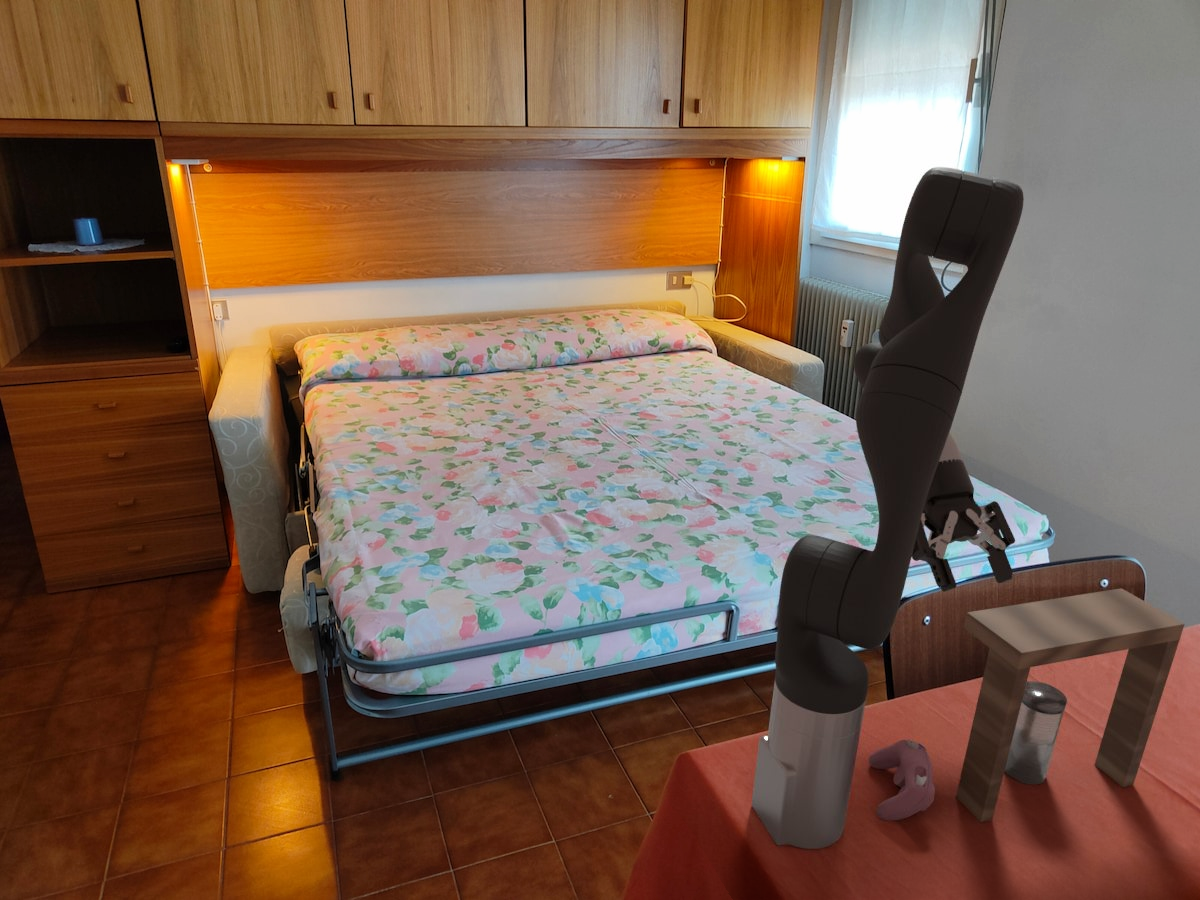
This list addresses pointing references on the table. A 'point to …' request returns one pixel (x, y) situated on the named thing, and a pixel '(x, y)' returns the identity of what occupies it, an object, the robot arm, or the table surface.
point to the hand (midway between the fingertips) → (978, 585)
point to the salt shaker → (1035, 733)
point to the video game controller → (905, 779)
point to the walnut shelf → (1059, 637)
